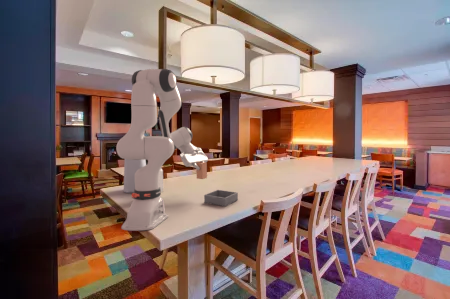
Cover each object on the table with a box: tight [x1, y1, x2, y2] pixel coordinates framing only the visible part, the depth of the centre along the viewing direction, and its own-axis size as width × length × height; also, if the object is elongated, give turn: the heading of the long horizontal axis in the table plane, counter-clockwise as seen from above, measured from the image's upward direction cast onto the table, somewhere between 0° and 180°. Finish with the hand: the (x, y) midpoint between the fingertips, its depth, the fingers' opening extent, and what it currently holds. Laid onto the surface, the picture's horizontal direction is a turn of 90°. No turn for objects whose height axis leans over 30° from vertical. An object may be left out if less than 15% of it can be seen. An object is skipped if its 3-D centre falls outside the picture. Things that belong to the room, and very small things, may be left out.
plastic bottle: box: [123, 159, 147, 194], centre depth 163 cm, size 15×15×28 cm
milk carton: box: [159, 168, 164, 193], centre depth 158 cm, size 7×7×19 cm
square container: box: [196, 162, 208, 180], centre depth 142 cm, size 4×4×10 cm
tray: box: [203, 189, 239, 207], centre depth 136 cm, size 14×14×5 cm
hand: (202, 168), depth 142 cm, fingers closed on square container, 4 cm apart
